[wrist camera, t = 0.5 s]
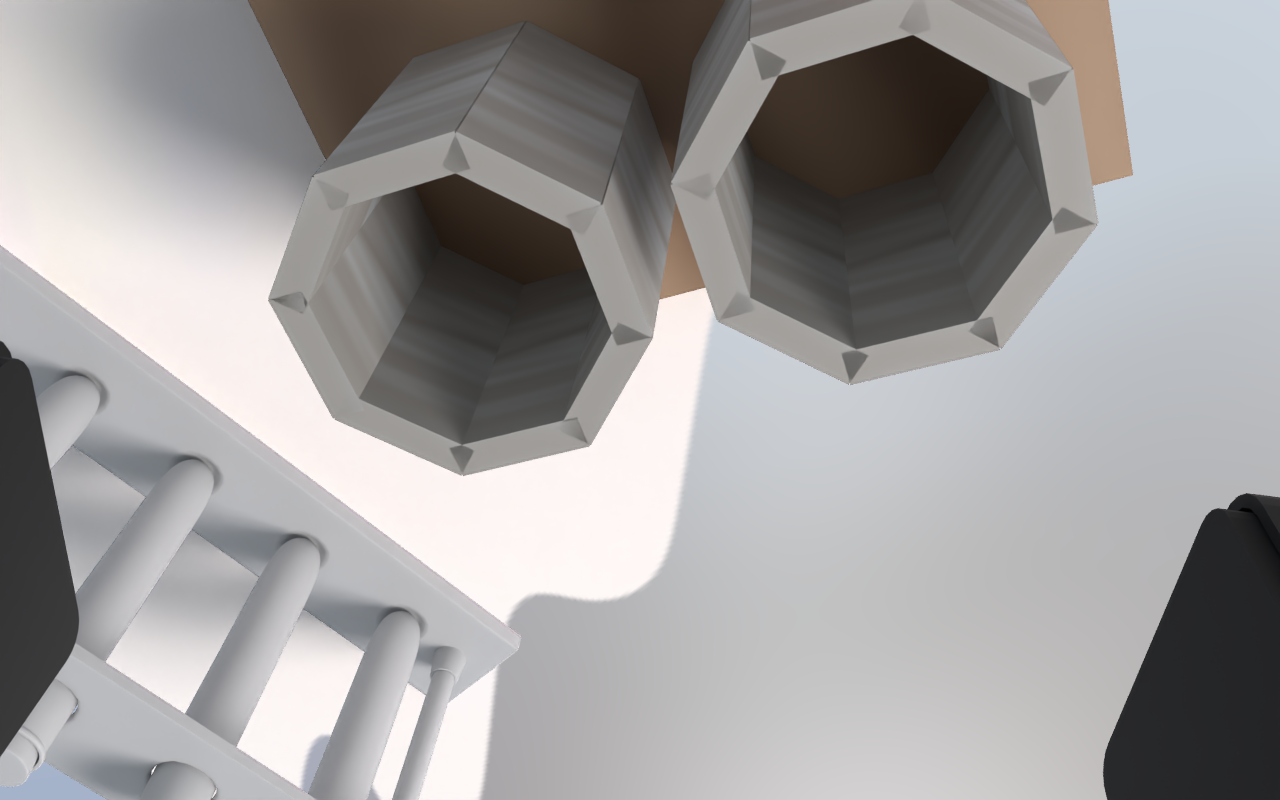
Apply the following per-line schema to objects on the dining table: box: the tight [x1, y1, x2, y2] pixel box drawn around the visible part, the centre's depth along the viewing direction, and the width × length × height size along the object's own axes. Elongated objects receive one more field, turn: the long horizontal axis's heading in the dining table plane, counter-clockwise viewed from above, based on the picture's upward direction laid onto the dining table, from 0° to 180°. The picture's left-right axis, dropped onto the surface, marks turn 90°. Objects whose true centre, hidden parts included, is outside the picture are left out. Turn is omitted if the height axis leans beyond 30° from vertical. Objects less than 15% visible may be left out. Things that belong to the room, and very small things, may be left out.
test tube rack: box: [0, 245, 521, 800], centre depth 36 cm, size 25×4×13 cm, turn 46°
